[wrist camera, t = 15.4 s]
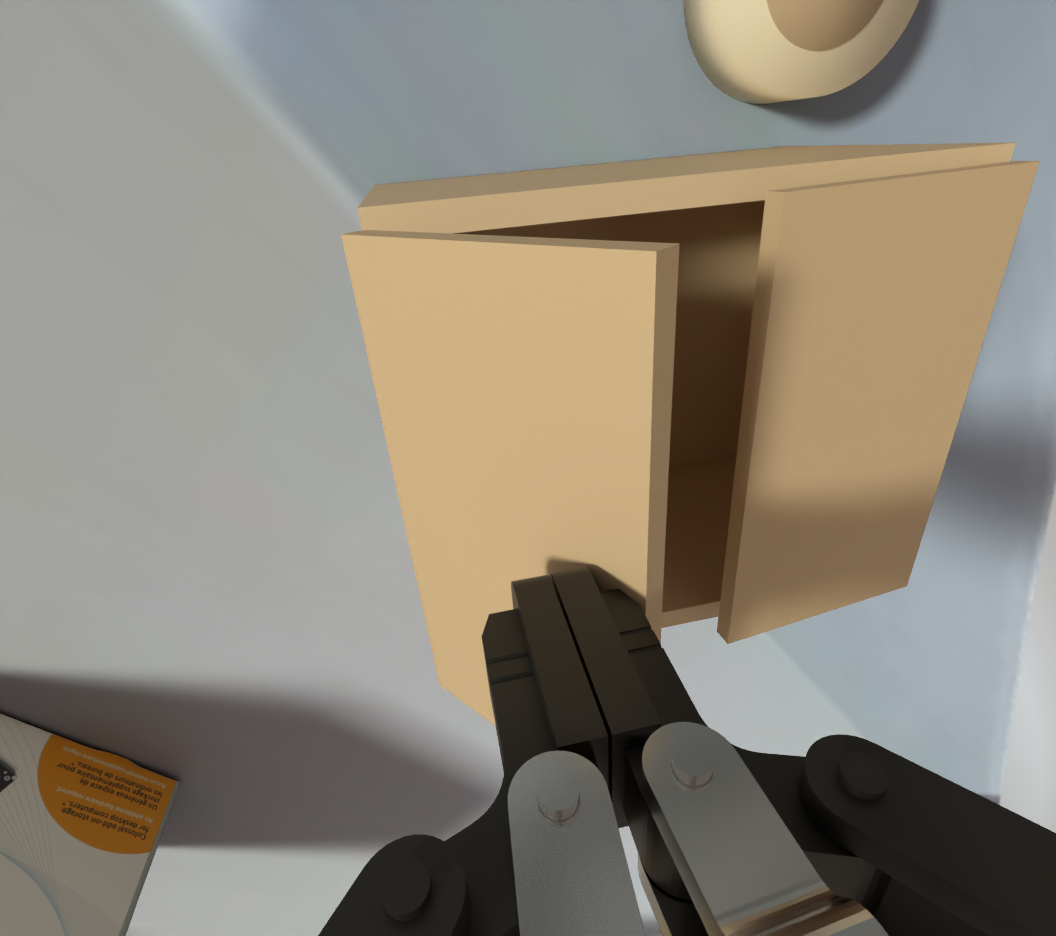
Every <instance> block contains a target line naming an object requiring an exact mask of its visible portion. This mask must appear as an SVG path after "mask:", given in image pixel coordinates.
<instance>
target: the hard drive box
mask: <svg viewBox="0 0 1056 936" xmlns="http://www.w3.org/2000/svg"><path fill="white" fill-rule="evenodd" d="M180 785H181V784H180V782H178V781H175V780H173V779H170V778H168V777H165V776H162V775H160V774H157V773H154V772H152V771H149V770H147V769H144V768H141V767H139V766H138V765H136V764H134V763H133V762H132V761H130V760H128V759H126V758H123V757H121V756H118V755H115V754H112V753H109V752H106V751H98V750H96V749H93V748H90V747H86V746H83V745H81V744H78V743H76V742H73V741H71V740H68V739H66V738H63V737H60V736H57V735H55V734H52V733H49V732H47V731H45V730H42V729H39V728H36V727H33V726H31V725H29V724H26V723H24V722H21V721H19V720H16V719H13V718H11V717H8V716H6V715H3V714H0V936H125V935H126V933H127V930H128V927H129V924H130V921H131V919H132V916H133V913H134V910H135V907H136V904H137V902H138V899H139V896H140V893H141V891H142V888H143V885H144V882H145V879H146V877H147V874H148V871H149V869H150V866H151V863H152V860H153V858H154V855H155V852H156V849H157V846H158V843H159V841H160V838H161V835H162V832H163V830H164V827H165V824H166V822H167V819H168V816H169V814H170V811H171V808H172V806H173V803H174V800H175V798H176V795H177V793H178V790H179V787H180Z"/></svg>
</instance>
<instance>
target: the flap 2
mask: <svg viewBox="0 0 1056 936" xmlns="http://www.w3.org/2000/svg"><path fill="white" fill-rule="evenodd" d="M1038 164H1039V161H1011V162H1003V163H994V164H986V165H978V166H969V167H961V168H953V169H944V170H936V171H928V172H919V173H911V174H903V175H895V176H886V177H878V178H870V179H861V180H853V181H845V182H836V183H828V184H820V185H811V186H803V187H795V188H786V189H778V190H770V191H766V196H765V205H764V214H763V223H762V232H761V241H760V250H759V259H758V268H757V277H756V286H755V295H754V304H753V313H752V322H751V331H750V340H749V349H748V358H747V367H746V376H745V385H744V393H743V402H742V411H741V420H740V429H739V438H738V447H737V456H736V465H735V474H734V483H733V492H732V501H731V510H730V519H729V528H728V537H727V546H726V555H725V564H724V573H723V582H722V591H721V600H720V609H719V618H718V626H717V632H718V633H719V634H720V635H721V637H722V638H723V639H724V640H725V641H726V642H727V644H729V643H732V642H735V641H738V640H741V639H744V638H748V637H751V636H754V635H757V634H760V633H763V632H766V631H769V630H772V629H775V628H778V627H782V626H785V625H788V624H791V623H794V622H797V621H800V620H803V619H806V618H809V617H812V616H816V615H819V614H822V613H825V612H828V611H831V610H834V609H837V608H840V607H843V606H846V605H850V604H853V603H856V602H859V601H862V600H865V599H868V598H871V597H874V596H877V595H880V594H884V593H887V592H890V591H893V590H896V589H899V588H902V587H905V586H907V584H908V581H909V577H910V574H911V571H912V568H913V565H914V561H915V558H916V555H917V552H918V549H919V545H920V542H921V539H922V536H923V533H924V529H925V526H926V523H927V520H928V517H929V513H930V510H931V507H932V504H933V501H934V497H935V494H936V491H937V488H938V485H939V481H940V478H941V475H942V472H943V469H944V465H945V462H946V459H947V456H948V453H949V449H950V446H951V443H952V440H953V437H954V433H955V430H956V427H957V424H958V421H959V417H960V414H961V411H962V408H963V405H964V401H965V398H966V395H967V392H968V389H969V385H970V382H971V379H972V376H973V373H974V369H975V366H976V363H977V360H978V357H979V353H980V350H981V347H982V344H983V341H984V337H985V334H986V331H987V328H988V324H989V321H990V318H991V315H992V312H993V308H994V305H995V302H996V299H997V296H998V292H999V289H1000V286H1001V283H1002V280H1003V276H1004V273H1005V270H1006V267H1007V264H1008V260H1009V257H1010V254H1011V251H1012V248H1013V244H1014V241H1015V238H1016V235H1017V232H1018V228H1019V225H1020V222H1021V219H1022V216H1023V212H1024V209H1025V206H1026V203H1027V200H1028V196H1029V193H1030V190H1031V187H1032V184H1033V180H1034V177H1035V174H1036V171H1037V168H1038Z"/></svg>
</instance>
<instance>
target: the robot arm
mask: <svg viewBox="0 0 1056 936" xmlns="http://www.w3.org/2000/svg"><path fill="white" fill-rule="evenodd" d="M511 592H512V602H513V610H507V611H502V612H497V613H492V614H489V616H488V619H487V622H486V625H485V628H484V631H483V634H482V643H483V650H484V657H485V663H486V670H487V677H488V683H489V690H490V696H491V702H492V708H493V713H494V719H495V725H496V730H497V736H498V741H499V747H500V753H501V759H502V764H503V770H504V778H503V782H502V786H501V789H500V791H499V794H498V796H497V798H496V799H495V801H494V803H493V804H492V805H491V807H490V808H489V809H488V811H487V812H486V813H485V814H484V815H482V816H481V817H480V818H479V819H478V820H477V821H475V822H474V823H472V824H471V825H470V826H468V827H466V828H465V829H463V830H462V831H460V832H459V833H457V834H455V835H454V836H452V837H451V838H449V839H447V840H446V841H442V840H441V839H438V838H436V837H433V836H429V835H410V836H405V837H402V838H400V839H397V840H395V841H393V842H391V843H389V844H388V845H386V846H385V847H383V848H382V849H381V850H379V851H378V852H377V853H376V854H375V855H374V856H373V857H372V858H371V859H370V860H369V862H368V863H367V864H366V866H365V867H364V868H363V870H362V871H361V873H360V874H359V876H358V877H357V879H356V880H355V882H354V883H353V885H352V886H351V888H350V889H349V891H348V892H347V894H346V895H345V897H344V898H343V900H342V901H341V903H340V904H339V906H338V907H337V909H336V910H335V912H334V913H333V915H332V916H331V918H330V919H329V920H328V922H327V923H326V925H325V926H324V928H323V929H322V931H321V932H320V934H319V935H318V936H646V935H645V931H644V927H643V923H642V919H641V915H640V912H639V908H638V904H637V900H636V896H635V892H634V888H633V884H632V880H631V876H630V872H629V868H628V864H627V860H626V856H625V853H624V849H623V845H622V841H621V837H620V833H619V829H618V828H621V827H625V826H629V827H630V830H631V833H632V836H633V839H634V842H635V845H636V848H637V850H638V872H639V877H640V880H641V883H642V886H643V888H644V891H645V893H646V896H647V898H648V901H649V903H650V905H651V908H652V910H653V913H654V915H655V918H656V920H657V922H658V925H659V927H660V930H661V932H662V935H663V936H1056V833H1054V832H1052V831H1050V830H1048V829H1046V828H1044V827H1042V826H1040V825H1038V824H1036V823H1034V822H1032V821H1030V820H1028V819H1026V818H1024V817H1022V816H1020V815H1018V814H1016V813H1014V812H1012V811H1010V810H1008V809H1006V808H1003V807H1002V806H1000V805H998V804H996V803H994V802H992V801H990V800H988V799H986V798H984V797H982V796H980V795H978V794H976V793H974V792H972V791H970V790H968V789H966V788H964V787H962V786H960V785H957V784H955V783H953V782H951V781H949V780H947V779H945V778H943V777H941V776H939V775H937V774H935V773H933V772H931V771H929V770H927V769H925V768H923V767H921V766H919V765H917V764H915V763H913V762H911V761H909V760H907V759H905V758H903V757H901V756H899V755H897V754H895V753H893V752H891V751H889V750H887V749H885V748H883V747H881V746H879V745H877V744H875V743H873V742H870V741H868V740H866V739H862V738H859V737H856V736H850V735H830V736H827V737H823V738H821V739H819V740H818V741H816V742H815V743H814V744H813V745H812V746H811V747H810V748H809V750H808V752H807V755H806V757H800V756H789V755H778V754H766V753H758V752H752V751H748V750H745V749H741V748H739V747H737V746H734V745H732V744H731V743H730V742H729V741H728V740H726V739H725V738H724V737H723V736H722V735H720V734H719V733H718V732H716V731H714V730H712V729H711V728H709V727H708V726H707V725H706V724H705V723H704V721H703V720H702V718H701V717H700V715H699V713H698V712H697V710H696V708H695V706H694V704H693V702H692V701H691V699H690V697H689V695H688V693H687V691H686V689H685V688H684V686H683V684H682V682H681V680H680V678H679V677H678V675H677V673H676V671H675V669H674V667H673V665H672V664H671V662H670V660H669V658H668V656H667V654H666V653H665V651H664V649H663V648H661V643H660V642H659V640H658V638H657V636H656V634H655V632H654V630H652V629H651V625H650V623H649V621H648V619H647V618H646V616H645V614H644V612H643V610H642V608H641V606H640V605H639V604H638V603H637V602H635V601H634V600H633V599H632V598H630V597H629V596H628V595H627V594H625V593H624V592H623V591H622V590H620V589H615V590H610V591H605V592H600V591H599V589H598V587H597V585H596V583H595V580H594V578H593V576H592V574H591V572H590V570H589V569H588V568H587V567H585V568H580V569H574V570H569V571H563V572H558V573H553V574H550V576H549V575H543V576H538V577H532V578H527V579H522V580H516V581H511Z"/></svg>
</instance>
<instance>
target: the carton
mask: <svg viewBox="0 0 1056 936" xmlns="http://www.w3.org/2000/svg"><path fill="white" fill-rule="evenodd" d="M1015 144H1016V143H963V144H901V145H839V146H783V147H773V148H762V149H752V150H741V151H731V152H720V153H709V154H699V155H688V156H678V157H667V158H656V159H646V160H635V161H625V162H614V163H603V164H593V165H582V166H572V167H561V168H551V169H540V170H529V171H519V172H508V173H498V174H487V175H476V176H466V177H455V178H445V179H434V180H423V181H413V182H402V183H392V184H381V185H375V186H374V187H373V188H372V189H371V191H370V192H369V193H368V195H367V196H366V197H365V198H364V200H363V201H362V202H361V204H360V205H359V206H358V207H357V210H358V215H359V220H360V225H361V229H362V231H363V230H379V231H402V232H425V233H449V234H472V235H495V236H518V237H541V238H564V239H587V240H610V241H633V242H656V243H679V264H678V285H677V306H676V327H675V348H674V369H673V390H672V411H671V432H670V453H669V474H668V495H667V516H666V537H665V558H664V579H663V600H662V621H661V628H663V627H668V626H673V625H678V624H683V623H688V622H693V621H698V620H703V619H708V618H712V617H717V616H719V609H720V600H721V591H722V582H723V573H724V564H725V555H726V546H727V537H728V528H729V519H730V510H731V501H732V492H733V483H734V474H735V465H736V456H737V447H738V438H739V429H740V420H741V411H742V402H743V393H744V385H745V376H746V367H747V358H748V349H749V340H750V331H751V322H752V313H753V304H754V295H755V286H756V277H757V268H758V259H759V250H760V241H761V232H762V223H763V214H764V205H765V196H766V191H770V190H778V189H786V188H795V187H803V186H811V185H820V184H828V183H836V182H845V181H853V180H861V179H870V178H878V177H886V176H895V175H903V174H911V173H919V172H928V171H936V170H944V169H953V168H961V167H969V166H978V165H986V164H994V163H1003V162H1010V161H1011V157H1012V154H1013V150H1014V147H1015Z"/></svg>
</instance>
